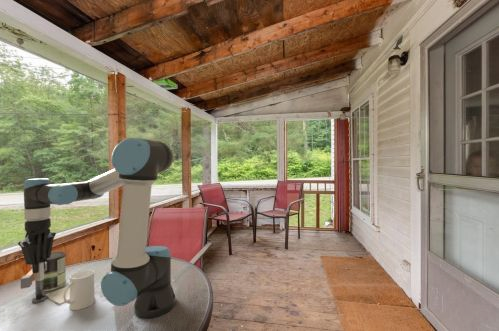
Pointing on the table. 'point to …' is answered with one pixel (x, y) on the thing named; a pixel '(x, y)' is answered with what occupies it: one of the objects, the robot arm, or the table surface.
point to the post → (39, 292)
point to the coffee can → (55, 271)
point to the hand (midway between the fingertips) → (39, 279)
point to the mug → (81, 290)
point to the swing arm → (29, 278)
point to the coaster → (59, 296)
